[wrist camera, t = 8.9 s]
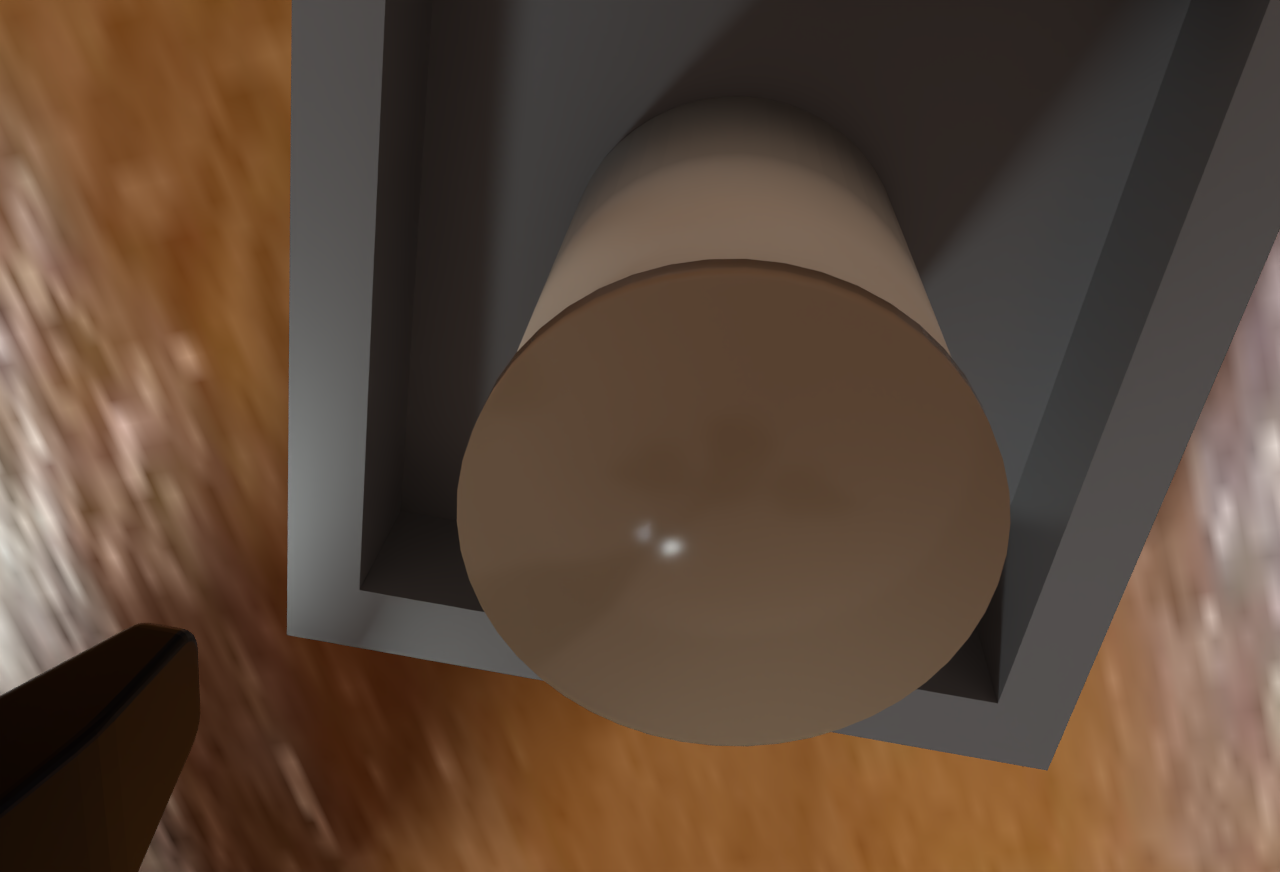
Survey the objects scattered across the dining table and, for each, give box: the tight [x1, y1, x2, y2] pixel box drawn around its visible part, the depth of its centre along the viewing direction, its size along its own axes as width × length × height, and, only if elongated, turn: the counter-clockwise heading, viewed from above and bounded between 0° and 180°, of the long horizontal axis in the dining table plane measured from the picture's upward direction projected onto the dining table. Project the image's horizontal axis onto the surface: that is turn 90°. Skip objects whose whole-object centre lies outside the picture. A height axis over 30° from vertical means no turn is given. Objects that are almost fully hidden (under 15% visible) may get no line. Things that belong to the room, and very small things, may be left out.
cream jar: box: [457, 97, 1010, 746], centre depth 15 cm, size 5×5×8 cm
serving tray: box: [287, 0, 1280, 770], centre depth 18 cm, size 13×14×4 cm
